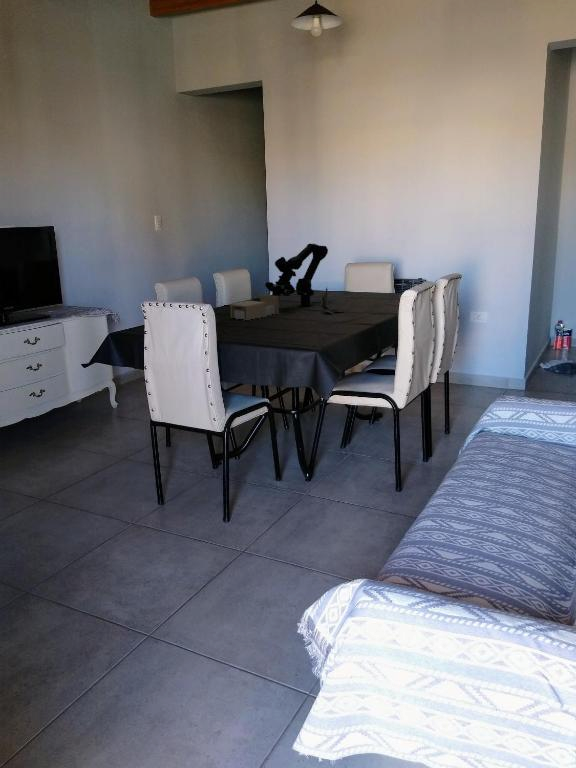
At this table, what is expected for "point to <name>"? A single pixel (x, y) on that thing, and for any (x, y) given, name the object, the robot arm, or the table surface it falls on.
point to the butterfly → (324, 302)
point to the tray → (270, 305)
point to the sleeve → (250, 309)
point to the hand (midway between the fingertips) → (272, 299)
